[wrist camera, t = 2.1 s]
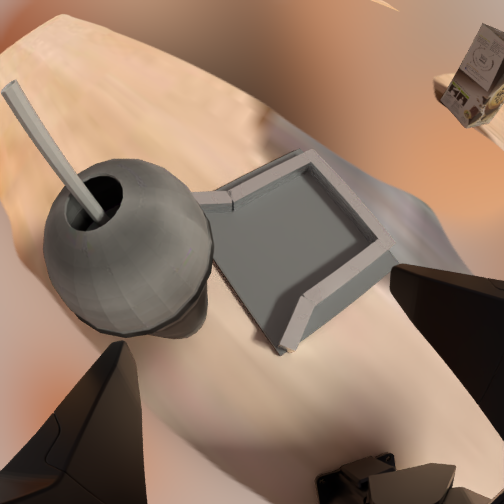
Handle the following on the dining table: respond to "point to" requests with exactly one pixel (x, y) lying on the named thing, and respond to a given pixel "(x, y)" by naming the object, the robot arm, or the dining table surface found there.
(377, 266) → the gray raised edge tray
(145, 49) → the dining table surface
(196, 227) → the beverage cup
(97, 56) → the dining table surface
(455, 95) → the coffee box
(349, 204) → the flared docking tray
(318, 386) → the dining table surface
